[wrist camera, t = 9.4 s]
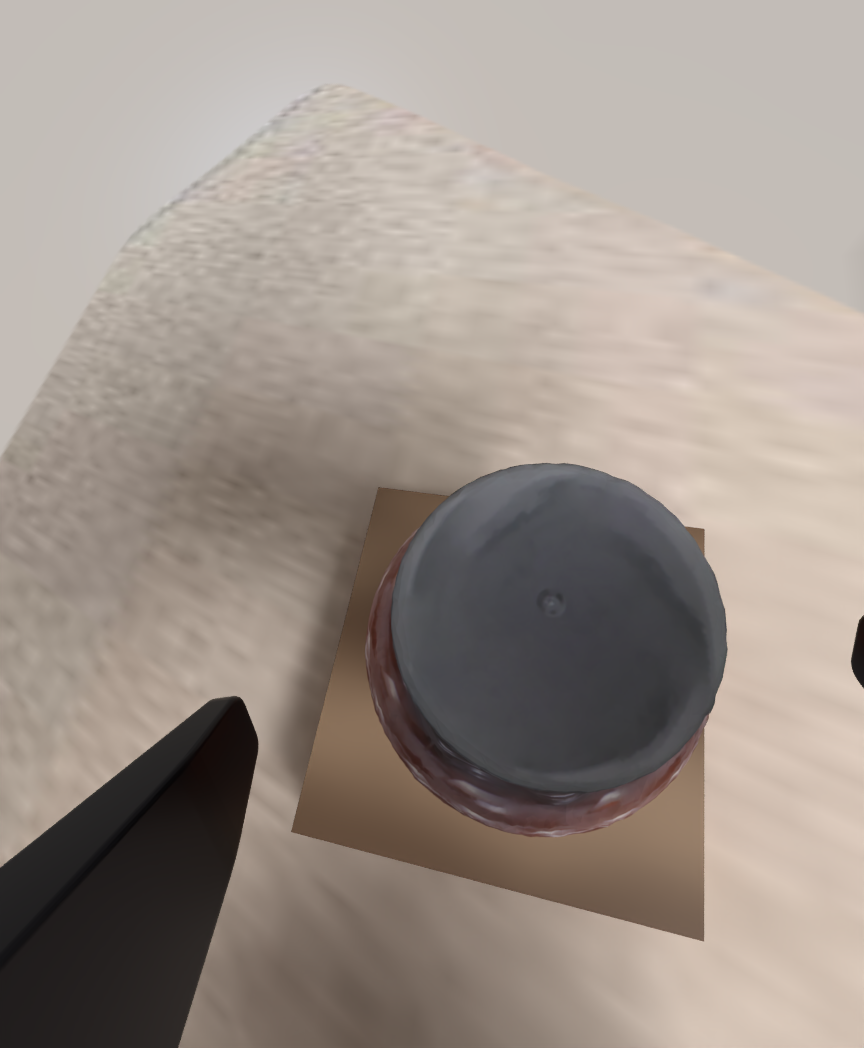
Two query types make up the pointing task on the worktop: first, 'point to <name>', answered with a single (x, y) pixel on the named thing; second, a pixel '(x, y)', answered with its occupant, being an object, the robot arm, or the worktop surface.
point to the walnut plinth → (460, 842)
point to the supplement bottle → (546, 649)
